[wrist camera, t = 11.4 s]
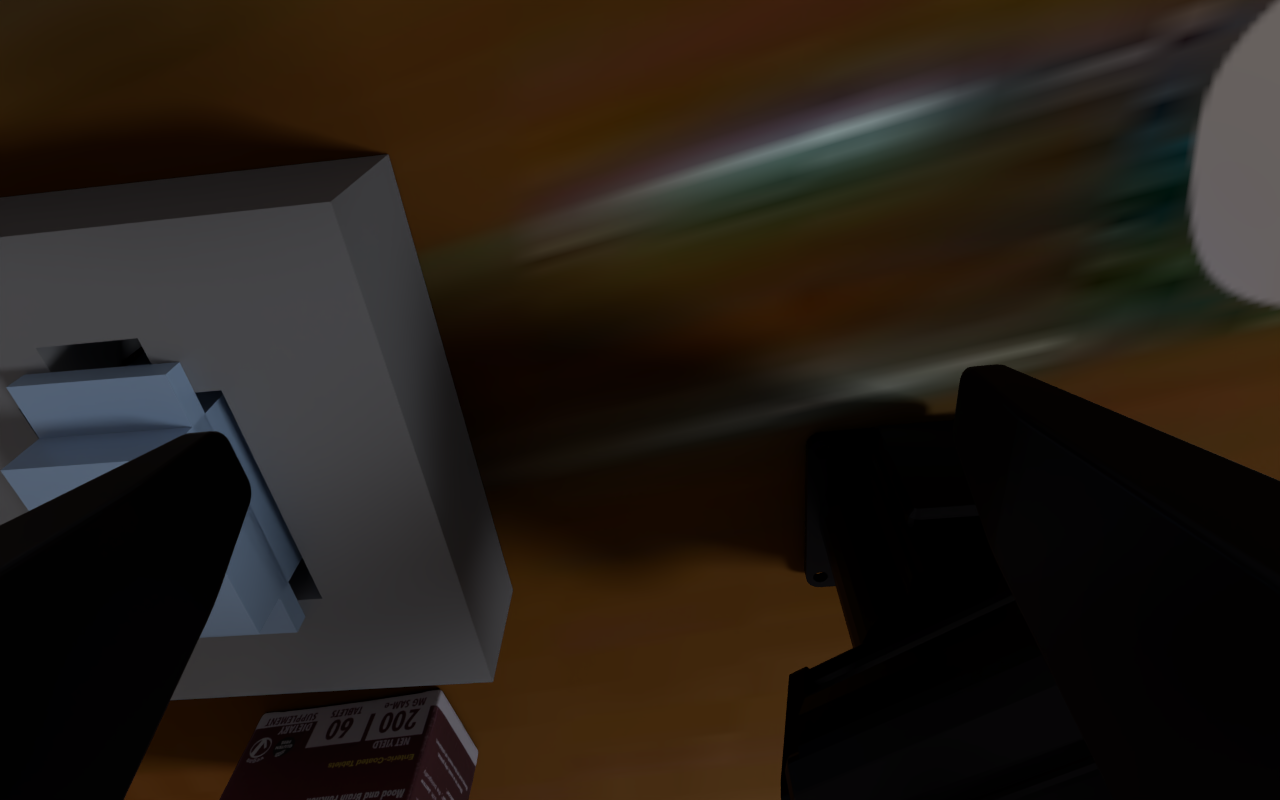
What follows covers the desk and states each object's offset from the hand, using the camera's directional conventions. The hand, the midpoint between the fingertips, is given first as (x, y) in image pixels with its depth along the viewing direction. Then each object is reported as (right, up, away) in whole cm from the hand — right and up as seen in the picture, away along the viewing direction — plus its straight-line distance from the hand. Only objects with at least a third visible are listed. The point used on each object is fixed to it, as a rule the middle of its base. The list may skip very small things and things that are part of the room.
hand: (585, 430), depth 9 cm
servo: (-12, 0, +15) cm, 19 cm away
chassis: (-12, -1, +15) cm, 19 cm away
